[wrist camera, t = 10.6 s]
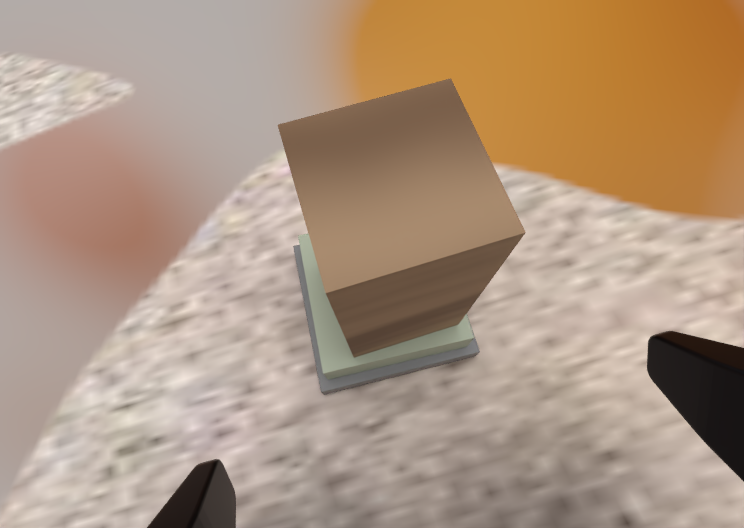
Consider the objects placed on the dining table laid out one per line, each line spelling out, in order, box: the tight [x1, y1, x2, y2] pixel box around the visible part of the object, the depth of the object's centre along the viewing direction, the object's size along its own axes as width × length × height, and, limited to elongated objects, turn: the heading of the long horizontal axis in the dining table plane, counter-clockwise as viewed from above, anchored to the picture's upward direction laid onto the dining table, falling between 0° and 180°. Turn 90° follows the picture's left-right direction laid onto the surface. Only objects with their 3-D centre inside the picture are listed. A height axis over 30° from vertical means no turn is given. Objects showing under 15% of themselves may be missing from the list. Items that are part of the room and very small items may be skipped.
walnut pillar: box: [278, 79, 526, 358], centre depth 16 cm, size 5×5×10 cm
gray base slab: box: [293, 245, 480, 395], centre depth 23 cm, size 8×8×2 cm
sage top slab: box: [298, 234, 474, 380], centre depth 22 cm, size 7×7×2 cm
